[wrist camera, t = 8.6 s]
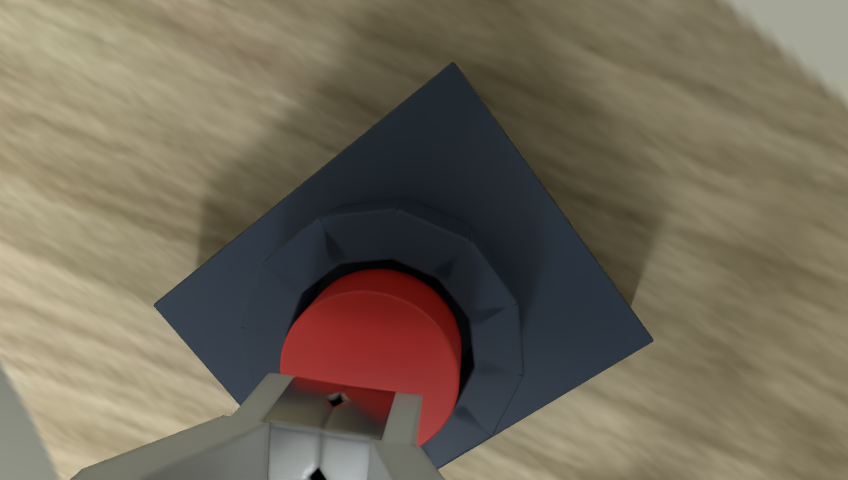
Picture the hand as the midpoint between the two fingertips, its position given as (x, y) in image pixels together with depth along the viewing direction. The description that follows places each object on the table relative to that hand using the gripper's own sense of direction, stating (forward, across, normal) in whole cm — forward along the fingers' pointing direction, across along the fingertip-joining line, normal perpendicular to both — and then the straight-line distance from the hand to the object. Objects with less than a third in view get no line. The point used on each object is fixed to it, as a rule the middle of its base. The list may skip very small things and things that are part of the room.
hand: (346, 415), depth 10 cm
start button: (+3, 0, 0) cm, 3 cm away
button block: (+7, 0, 0) cm, 7 cm away
